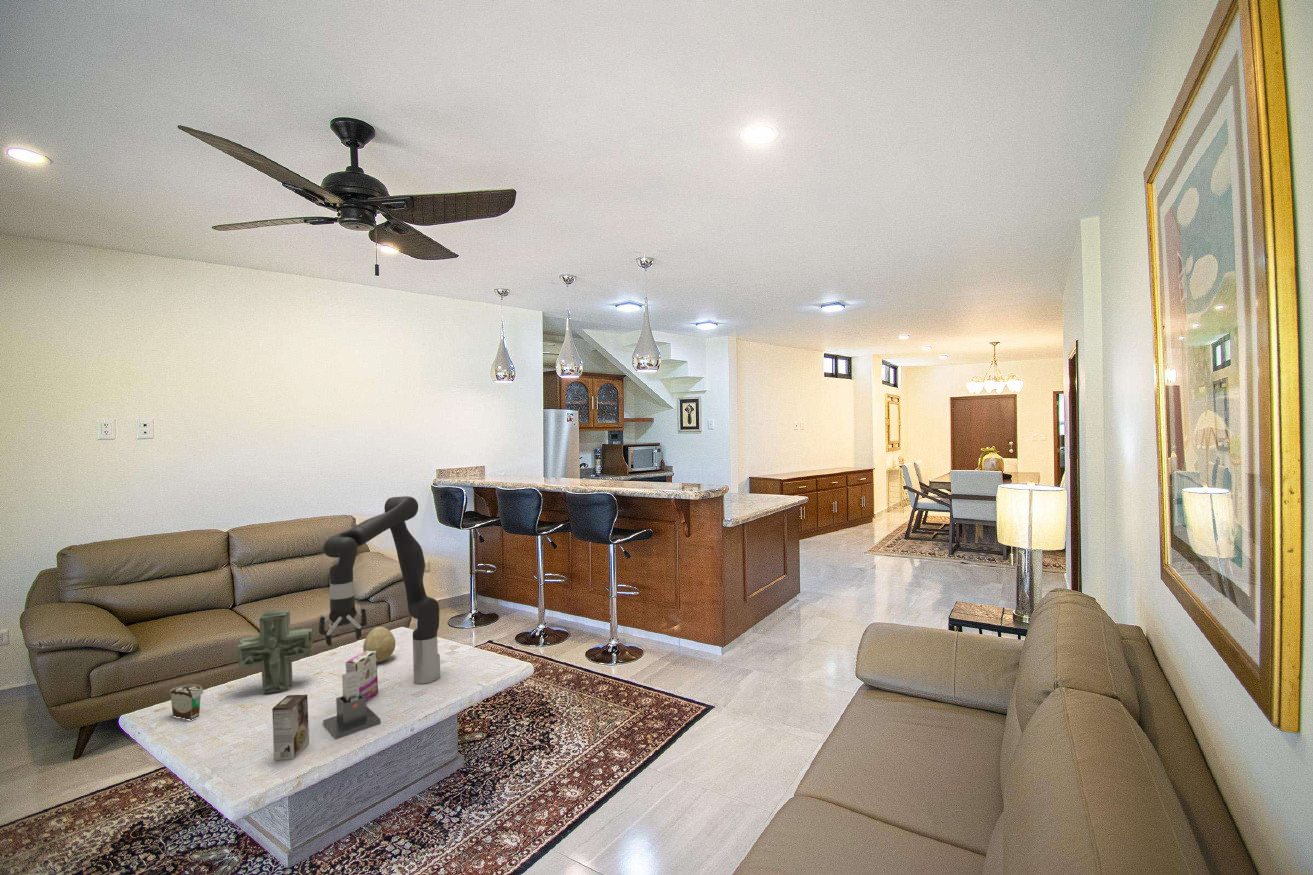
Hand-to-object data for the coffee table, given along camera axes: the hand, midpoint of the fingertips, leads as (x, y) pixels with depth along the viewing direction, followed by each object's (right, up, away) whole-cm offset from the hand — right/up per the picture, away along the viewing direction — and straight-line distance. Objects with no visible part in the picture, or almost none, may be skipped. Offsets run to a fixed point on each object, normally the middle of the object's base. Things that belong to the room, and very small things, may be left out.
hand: (343, 642), depth 200 cm
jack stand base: (+3, -28, 0) cm, 28 cm away
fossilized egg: (-14, -28, +55) cm, 63 cm away
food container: (-59, -29, +9) cm, 67 cm away
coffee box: (-7, -29, -17) cm, 34 cm away
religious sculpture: (-42, -29, +29) cm, 58 cm away
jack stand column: (+3, -26, 0) cm, 27 cm away
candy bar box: (-3, -28, +18) cm, 34 cm away
